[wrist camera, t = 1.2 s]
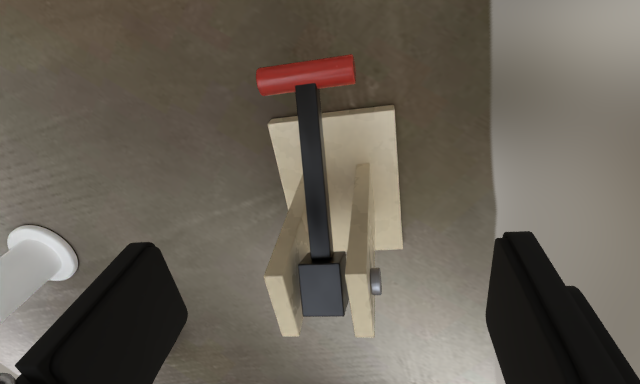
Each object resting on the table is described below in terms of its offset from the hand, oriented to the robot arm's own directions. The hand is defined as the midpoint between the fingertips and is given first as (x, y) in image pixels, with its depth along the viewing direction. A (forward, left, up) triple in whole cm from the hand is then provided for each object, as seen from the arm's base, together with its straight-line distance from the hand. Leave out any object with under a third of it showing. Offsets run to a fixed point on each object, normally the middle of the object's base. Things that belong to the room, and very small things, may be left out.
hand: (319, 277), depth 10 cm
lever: (+3, 0, -10) cm, 10 cm away
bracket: (+6, +3, -18) cm, 19 cm away
